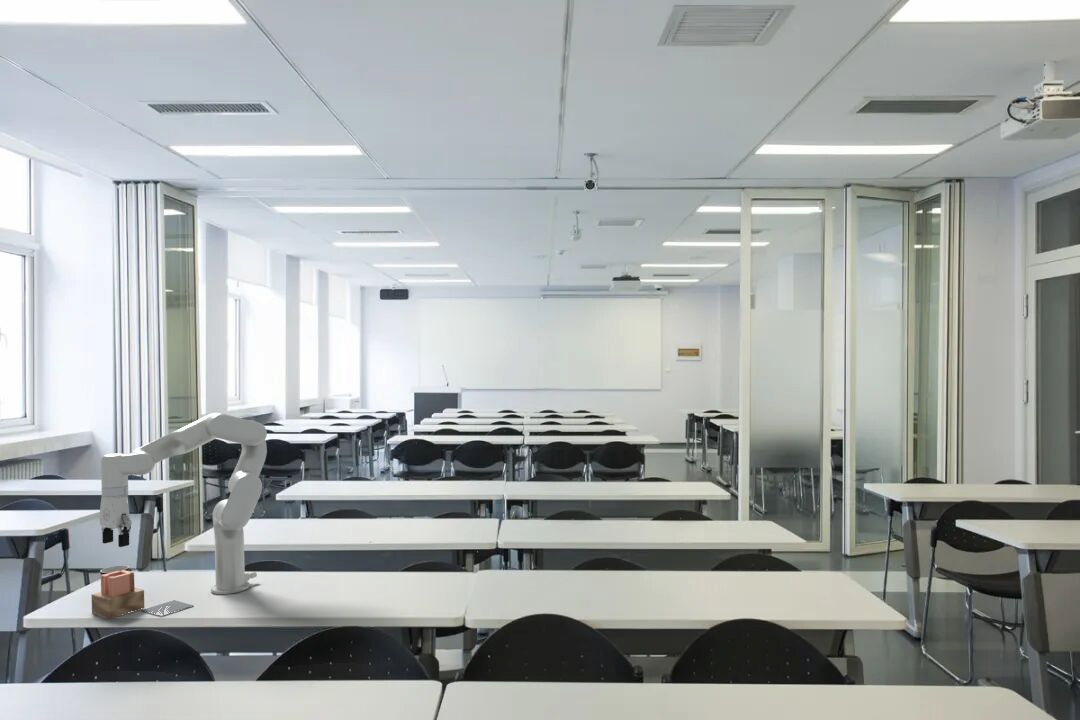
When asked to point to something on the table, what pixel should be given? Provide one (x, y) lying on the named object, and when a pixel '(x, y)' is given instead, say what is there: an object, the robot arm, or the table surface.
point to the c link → (117, 583)
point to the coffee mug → (114, 569)
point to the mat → (173, 606)
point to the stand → (117, 603)
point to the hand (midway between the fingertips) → (115, 544)
